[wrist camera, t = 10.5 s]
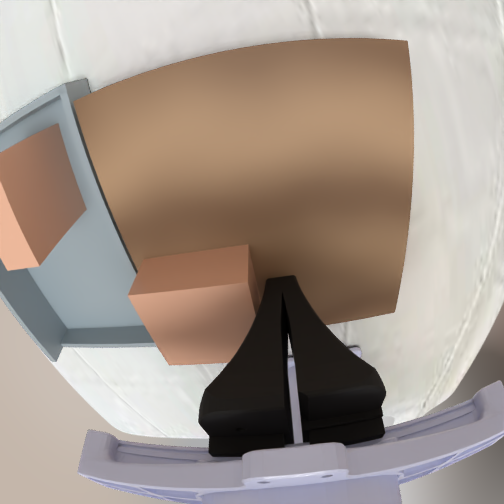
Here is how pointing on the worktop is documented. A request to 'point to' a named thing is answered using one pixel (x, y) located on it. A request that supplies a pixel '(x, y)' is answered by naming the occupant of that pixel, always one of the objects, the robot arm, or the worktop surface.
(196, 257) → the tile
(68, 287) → the tray
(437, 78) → the worktop surface
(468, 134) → the worktop surface
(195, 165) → the board
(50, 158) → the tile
